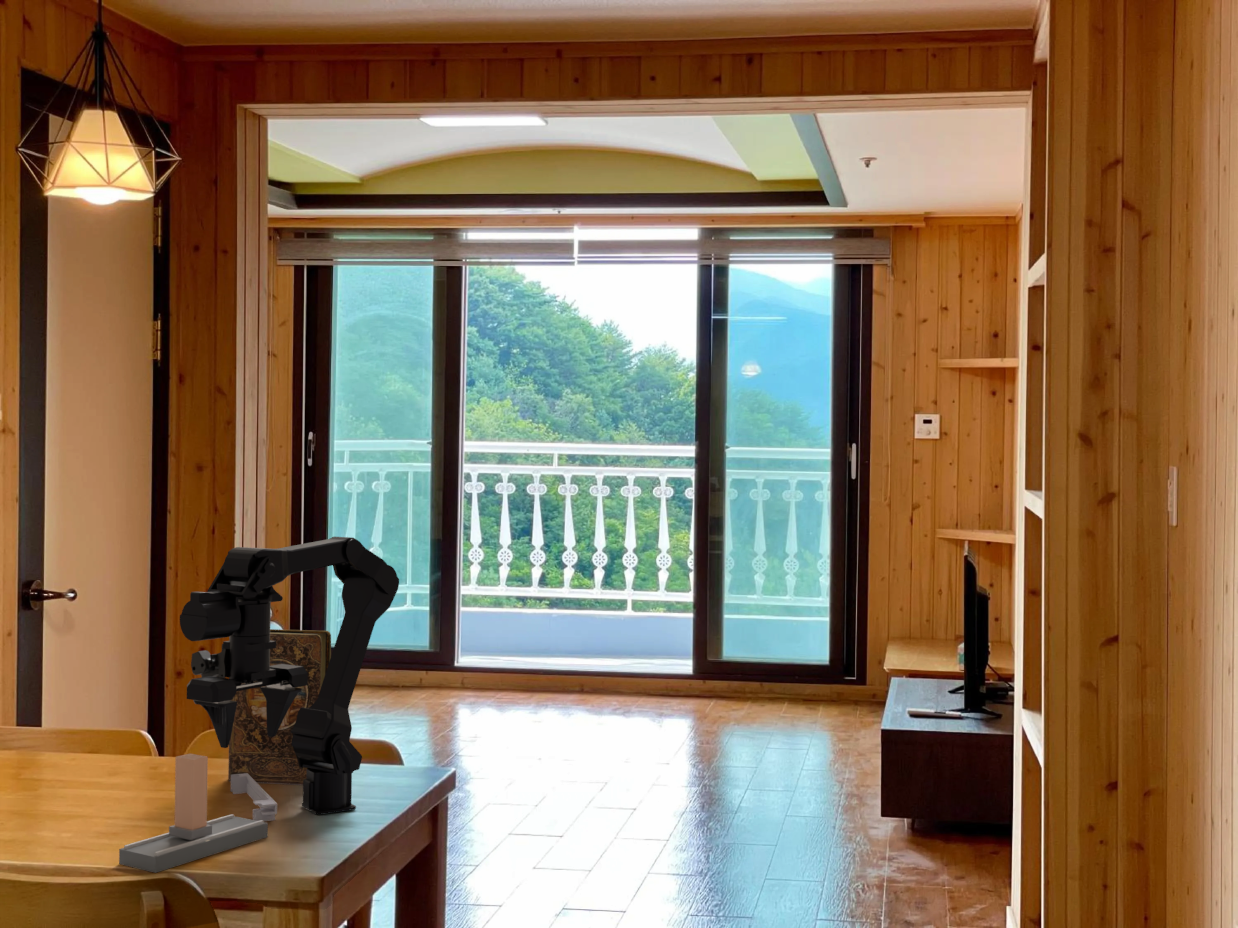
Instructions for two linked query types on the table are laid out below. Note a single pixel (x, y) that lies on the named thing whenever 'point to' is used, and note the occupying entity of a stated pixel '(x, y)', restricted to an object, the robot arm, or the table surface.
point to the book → (276, 754)
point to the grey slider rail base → (191, 844)
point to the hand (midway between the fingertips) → (248, 741)
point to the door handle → (254, 796)
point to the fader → (191, 797)
